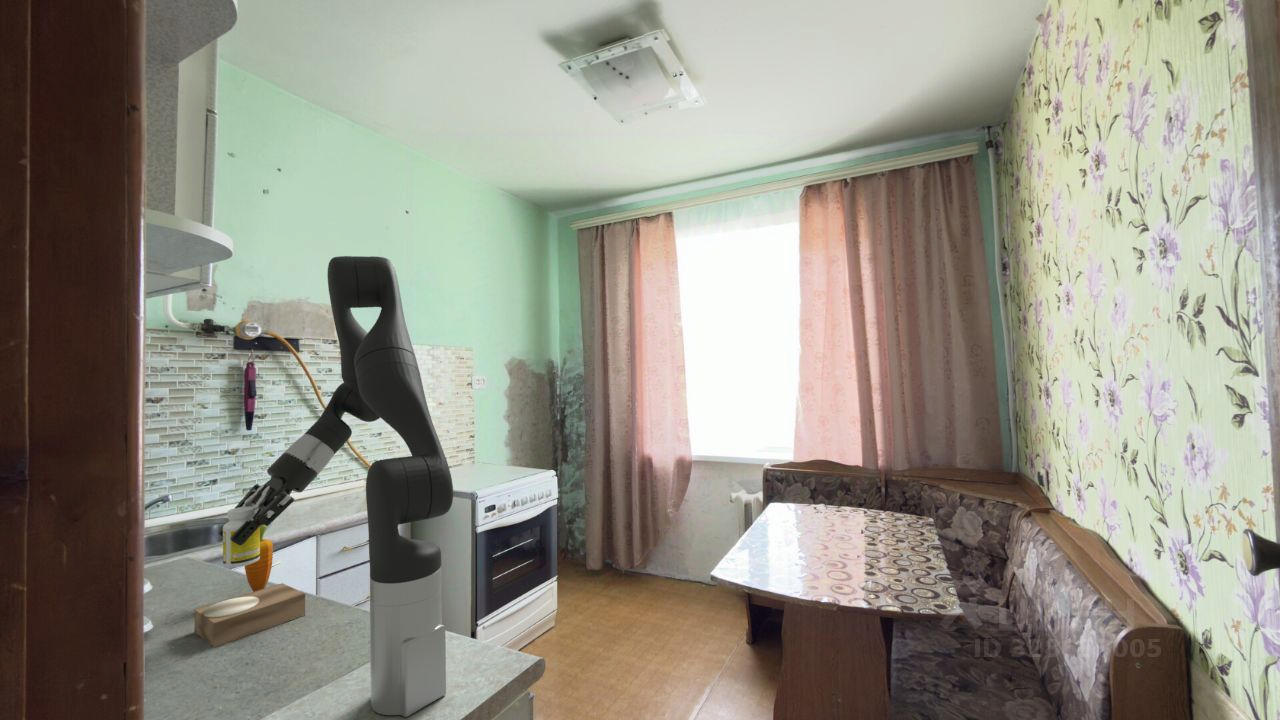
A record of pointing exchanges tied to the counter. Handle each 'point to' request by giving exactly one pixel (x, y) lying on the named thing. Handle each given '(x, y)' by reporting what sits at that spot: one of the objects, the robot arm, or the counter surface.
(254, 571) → the carrot
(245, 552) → the supplement bottle
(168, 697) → the counter surface
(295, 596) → the walnut board
